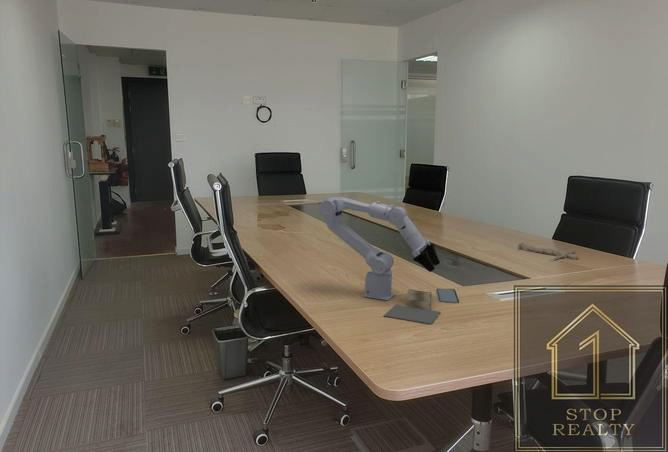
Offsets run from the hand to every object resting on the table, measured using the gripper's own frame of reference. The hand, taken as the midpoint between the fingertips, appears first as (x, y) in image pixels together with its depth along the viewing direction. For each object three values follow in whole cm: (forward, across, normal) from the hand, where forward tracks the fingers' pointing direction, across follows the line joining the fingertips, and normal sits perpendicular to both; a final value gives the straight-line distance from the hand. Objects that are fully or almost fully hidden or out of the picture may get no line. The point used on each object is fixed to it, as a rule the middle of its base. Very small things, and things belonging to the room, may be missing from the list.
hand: (435, 267), depth 176 cm
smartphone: (+13, +9, +7) cm, 17 cm away
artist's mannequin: (+36, +99, -15) cm, 107 cm away
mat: (+8, -16, +10) cm, 20 cm away
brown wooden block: (+8, -8, +11) cm, 16 cm away
